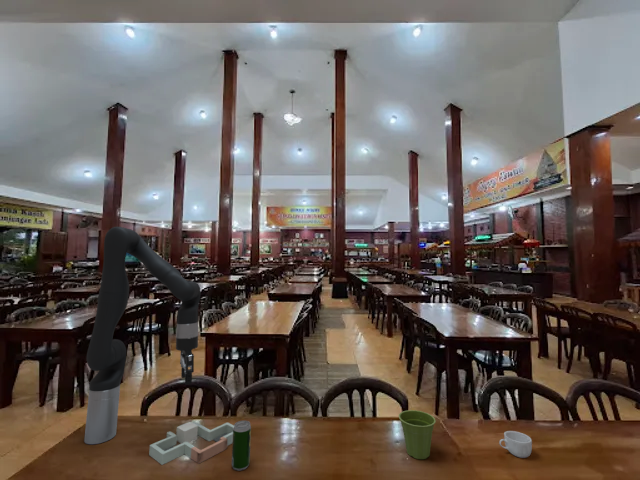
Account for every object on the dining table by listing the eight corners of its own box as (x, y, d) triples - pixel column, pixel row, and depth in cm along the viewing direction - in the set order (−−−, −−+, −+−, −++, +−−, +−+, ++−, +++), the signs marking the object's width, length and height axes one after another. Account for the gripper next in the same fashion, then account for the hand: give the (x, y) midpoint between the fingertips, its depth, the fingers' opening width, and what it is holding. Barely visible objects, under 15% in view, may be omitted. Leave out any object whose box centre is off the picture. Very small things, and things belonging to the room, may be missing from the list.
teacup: (523, 447, 105) (522, 431, 106) (538, 461, 97) (537, 443, 98) (493, 446, 105) (492, 430, 106) (506, 460, 97) (506, 442, 98)
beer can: (234, 473, 89) (236, 430, 91) (229, 464, 94) (231, 422, 95) (252, 467, 92) (253, 425, 94) (246, 458, 97) (247, 418, 98)
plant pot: (421, 441, 108) (420, 407, 109) (444, 460, 97) (443, 423, 98) (392, 446, 104) (391, 412, 106) (413, 467, 93) (412, 428, 94)
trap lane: (144, 451, 100) (145, 441, 100) (210, 422, 120) (211, 414, 120) (176, 475, 88) (176, 464, 88) (244, 439, 108) (244, 430, 108)
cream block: (176, 440, 107) (176, 426, 107) (189, 434, 111) (190, 421, 111) (183, 445, 104) (184, 431, 104) (197, 439, 108) (197, 425, 108)
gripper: (173, 333, 117) (172, 377, 115) (179, 340, 105) (177, 389, 103) (194, 331, 121) (193, 373, 119) (201, 337, 109) (201, 384, 107)
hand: (186, 380), depth 111 cm, fingers open, 8 cm apart
